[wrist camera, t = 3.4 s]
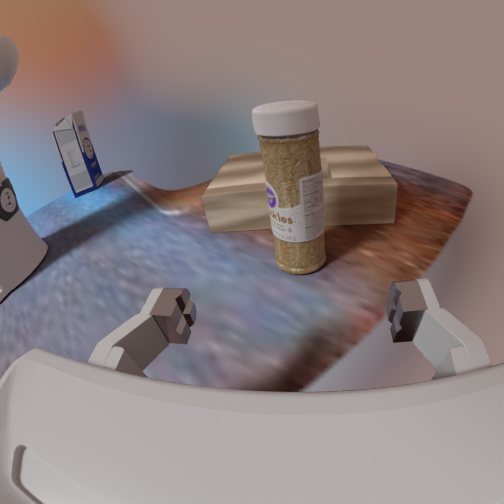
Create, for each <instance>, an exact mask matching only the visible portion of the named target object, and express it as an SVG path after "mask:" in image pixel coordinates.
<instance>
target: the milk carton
mask: <svg viewBox="0 0 504 504" xmlns="http://www.w3.org/2000/svg"><path fill="white" fill-rule="evenodd" d="M56 126H57V127H56V128H55V129H54V130H53V131H52V135H53V138H54V142H55V145H56V147H57V151H58V154H59V156H60V159H61V162H62V165H63V168H64V170H65V173H66V176H67V178H68V181H69V184H70V186H71V188H72V191H73V193H74V196H75V198H76V197H79V196H81V195H83V194H86V193H88V192H91V191H94V190H96V189H98V187H99V186H100V185H101V184H102V182H103V181H104V177H103V175H102V172H101V169H100V166H99V163H98V161H97V158H96V155H95V152H94V149H93V146H92V143H91V139H90V136H89V133H88V130H87V126H86V123H85V120H84V116H83V113H82V111H79V112H76V113H73V114H71V115H70V116H68V117H67V118H63V119H61V120H60V121H59V122H57V124H56Z"/></svg>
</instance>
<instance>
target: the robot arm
mask: <svg viewBox="0 0 504 504" xmlns="http://www.w3.org/2000/svg"><path fill="white" fill-rule="evenodd" d="M18 61H19V54H18V49H17V47H16V44H15V43H14V42H13V40H12V39H10V38H9V37H7V36H4V35H0V91H2V90H3V89H4V88H6V87H7V86H8V85H10V84H11V82H12V80H13V78H14V76H15V74H16V71H17V67H18ZM47 249H48V246H47V244H46V243H45V242H44V241H43V240H42V239H41V238H40V237H39V235H38V234H37V233H36V232H35V230H34V229H33V228H32V226H31V225H30V223H29V222H28V220H27V219H26V217H25V216H24V214H23V212H22V211H21V209H20V207H19V206H18V203H17V199H16V194H15V192H14V190H13V186H12V184H11V183H10V180H9V178H6V176H5V174H4V171H3V168H2V165H1V162H0V302H1V301H2V299H3V298H4V297H5V296H6V295H7V294H8V293H9V292H10V291H11V290H13V289H14V288H15V287H16V286H18V285H19V284H20V283H21V282H22V281H23V280H24V279H26V278H27V277H28V276H29V275H30V274H31V273H32V272H33V270H34V269H35V268H36V267H37V266H38V265H39V263H40V262H41V261H42V259H43V258H44V256H45V254H46V252H47ZM390 291H391V295H390V296H389V297H388V300H387V316H388V320H389V321H390V322H391V323H392V325H391V328H390V329H391V335H392V340H393V343H397V342H409V341H413V343H414V344H415V346H416V347H417V348H418V349H419V350H420V351H421V353H422V354H423V355H424V356H425V357H426V359H427V360H428V361H429V362H430V363H431V365H433V367H434V368H435V369H436V371H437V372H436V374H435V375H434V377H433V378H432V380H431V381H426V382H420V383H413V384H407V385H400V386H392V387H384V388H374V389H363V390H349V391H329V392H269V391H249V390H235V389H223V388H213V387H204V386H196V385H189V384H182V383H175V382H169V381H163V380H158V379H152V378H148V377H147V376H146V375H145V374H144V372H143V370H144V369H145V368H146V367H147V366H148V365H149V364H150V363H151V362H152V361H153V360H154V359H155V358H156V357H157V356H158V355H159V354H160V353H161V352H162V351H163V350H164V349H165V348H166V347H167V346H168V345H169V343H176V344H187V342H188V339H189V337H190V334H191V330H190V327H191V326H192V325H193V324H194V323H195V320H196V312H197V311H196V306H195V304H194V302H193V301H191V300H190V299H189V298H190V293H189V291H188V289H186V288H154V289H153V290H152V292H151V293H150V295H149V297H148V299H147V301H146V303H145V304H144V306H143V308H142V310H141V312H140V314H136V315H135V316H133V317H132V318H131V319H129V320H128V321H127V322H125V323H124V324H122V325H121V326H120V327H118V328H117V329H116V330H114V331H113V332H112V333H110V334H109V335H107V336H106V337H105V338H103V339H102V340H101V341H99V342H98V344H97V346H96V348H95V349H94V351H93V353H92V355H91V357H90V359H89V361H88V363H85V362H81V361H78V360H74V359H71V358H68V357H65V356H62V355H59V354H56V353H53V352H50V351H47V350H45V349H42V348H34V349H32V350H31V351H29V352H27V353H26V354H24V355H23V356H21V357H20V358H19V359H17V360H16V361H15V362H13V363H12V365H11V366H10V367H9V368H8V370H7V371H6V372H5V374H4V375H3V377H2V379H1V380H0V504H504V363H501V364H498V365H494V366H492V365H491V362H490V359H489V356H488V353H487V351H486V348H485V345H484V342H483V340H482V339H481V338H479V337H478V336H477V335H476V334H475V333H473V332H472V331H471V330H470V329H469V328H467V327H466V326H465V325H464V324H463V323H461V322H460V321H459V320H458V319H456V318H455V317H454V316H453V315H452V314H451V313H449V312H448V311H447V310H446V309H444V308H440V305H439V303H438V300H437V298H436V296H435V293H434V291H433V288H432V286H431V284H430V282H429V280H428V279H427V278H424V279H416V280H403V281H392V283H391V286H390Z"/></svg>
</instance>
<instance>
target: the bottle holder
mask: <svg viewBox="0 0 504 504" xmlns="http://www.w3.org/2000/svg"><path fill="white" fill-rule="evenodd" d="M319 148H320V157H321V167H322V174H323V192H324V214H325V226H336V225H359V224H385V223H394V221H395V211H396V200H397V187H398V184H397V183H396V181H395V180H394V178H393V177H392V176H391V174H390V173H389V172H388V170H387V169H386V168H385V167H384V165H383V164H382V163H381V161H380V160H379V159H378V158H377V156H376V155H375V154H374V153H373V152H372V150H371V149H370V148H369V147H368V146H331V147H319ZM265 181H266V178H265V172H264V167H263V161H262V153H261V152H255V153H246V154H238V155H231V156H230V157H229V158H228V159H227V161H226V162H225V163H224V165H223V166H222V168H221V169H220V170H219V172H218V173H217V175H216V176H215V177H214V179H213V180H212V182H211V183H210V185H209V186H208V187H207V189H206V190H205V192H204V193H203V195H202V196H201V198H202V202H203V205H204V209H205V212H206V216H207V219H208V223H209V227H210V230H211V233H216V232H230V231H246V230H261V229H272V226H271V219H270V212H269V204H268V198H267V191H266V185H265Z"/></svg>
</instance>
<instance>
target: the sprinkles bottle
mask: <svg viewBox="0 0 504 504" xmlns="http://www.w3.org/2000/svg"><path fill="white" fill-rule="evenodd" d="M252 118H253V125H254V131H255V133H256V134H257V135H258V137H257V138H258V139H259V141H260V148H261V153H262V161H263V167H264V172H265V178H266V181H265V185H266V191H267V198H268V204H269V212H270V219H271V226H272V231H273V236H274V242H275V250H276V255H275V259H276V263H277V265H278V266H279V268H280V269H282V270H283V271H285V272H287V273H291V274H296V275H298V274H308V273H311V272H313V271H316V270H317V269H319V268H320V267H321V266H322V265H323V264H324V262H325V260H326V252H325V250H324V248H325V244H324V229H325V214H324V192H323V174H322V167H321V157H320V148H319V140H318V138H319V130H318V128H319V127H320V121H319V113H318V106H317V104H316V103H315V102H312V101H299V100H298V101H297V100H296V101H281V102H274V103H269V104H264V105H261V106H258V107H255V108H254V109H253V110H252Z"/></svg>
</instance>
